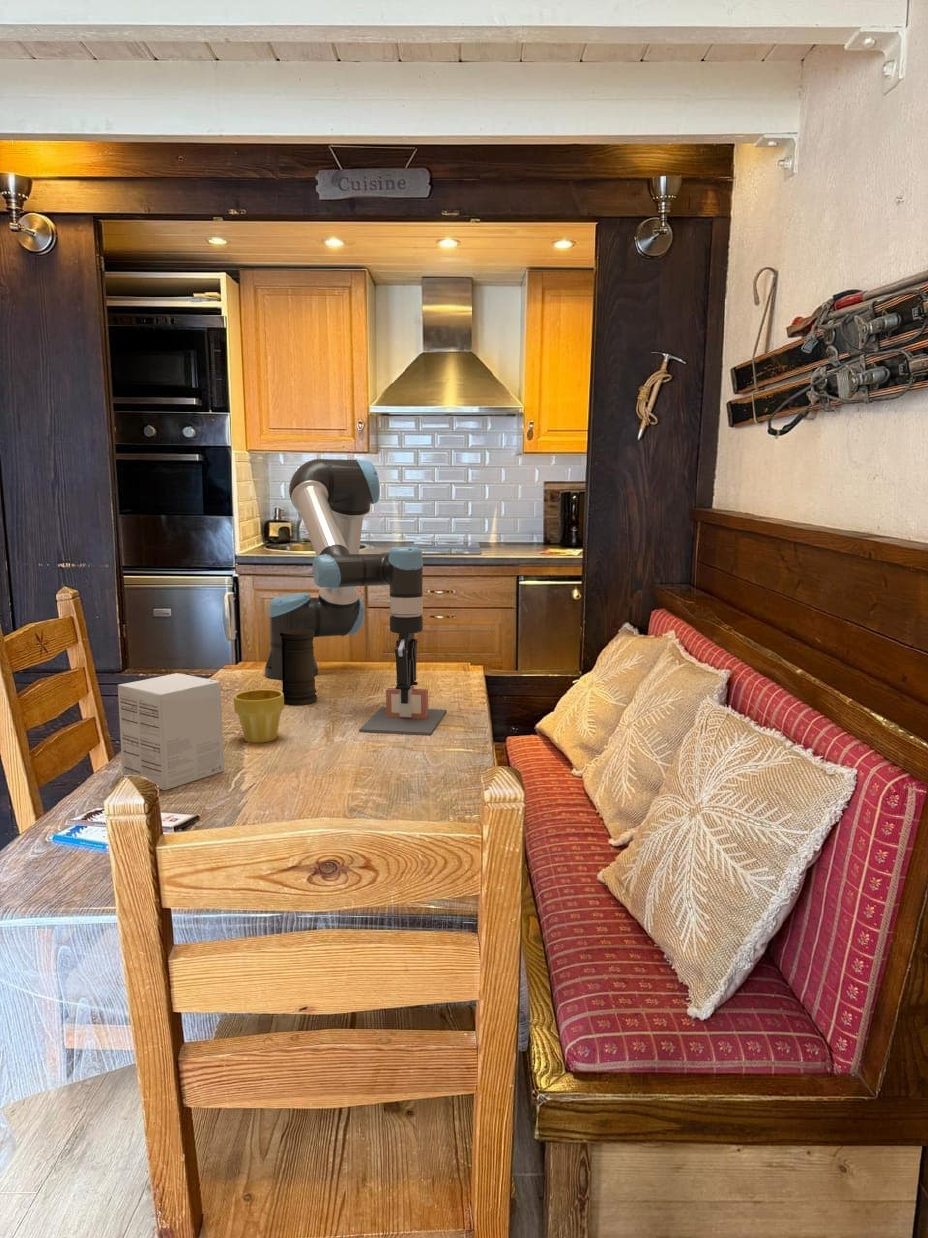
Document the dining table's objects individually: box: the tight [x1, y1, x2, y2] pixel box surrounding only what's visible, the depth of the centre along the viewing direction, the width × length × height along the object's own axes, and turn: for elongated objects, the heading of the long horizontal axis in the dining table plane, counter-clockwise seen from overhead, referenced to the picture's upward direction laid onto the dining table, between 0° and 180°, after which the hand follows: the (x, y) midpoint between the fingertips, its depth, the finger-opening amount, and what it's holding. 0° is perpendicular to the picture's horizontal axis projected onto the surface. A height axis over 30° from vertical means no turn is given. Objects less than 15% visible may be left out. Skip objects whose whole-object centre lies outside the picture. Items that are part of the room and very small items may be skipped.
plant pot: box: [233, 688, 285, 744], centre depth 178 cm, size 10×10×10 cm
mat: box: [359, 706, 448, 736], centre depth 193 cm, size 20×16×1 cm
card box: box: [385, 687, 429, 719], centre depth 194 cm, size 2×10×6 cm, turn 81°
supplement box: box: [117, 672, 225, 791], centre depth 154 cm, size 13×13×18 cm
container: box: [280, 629, 318, 706], centre depth 210 cm, size 9×9×18 cm
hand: (407, 714), depth 194 cm, fingers closed on card box, 2 cm apart
